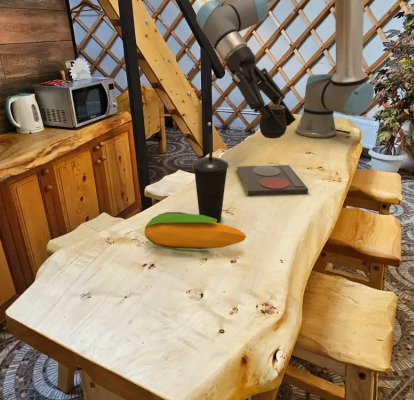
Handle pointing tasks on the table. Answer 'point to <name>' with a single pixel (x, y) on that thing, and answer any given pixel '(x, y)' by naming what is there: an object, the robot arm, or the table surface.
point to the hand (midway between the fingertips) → (284, 125)
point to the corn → (190, 232)
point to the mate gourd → (280, 114)
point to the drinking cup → (210, 184)
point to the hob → (270, 180)
